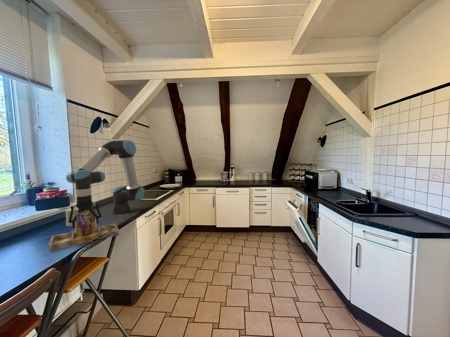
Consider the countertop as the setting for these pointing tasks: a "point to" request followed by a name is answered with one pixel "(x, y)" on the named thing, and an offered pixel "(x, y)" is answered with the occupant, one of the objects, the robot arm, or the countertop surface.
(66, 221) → the can
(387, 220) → the countertop surface
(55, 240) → the rack
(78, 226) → the candy box
